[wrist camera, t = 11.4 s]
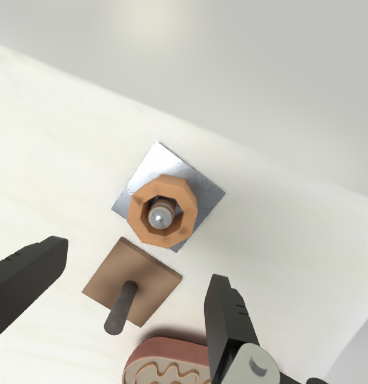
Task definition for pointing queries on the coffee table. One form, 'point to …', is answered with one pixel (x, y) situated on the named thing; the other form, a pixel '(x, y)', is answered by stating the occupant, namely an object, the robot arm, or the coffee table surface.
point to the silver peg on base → (165, 206)
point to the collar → (181, 222)
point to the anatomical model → (167, 363)
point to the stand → (130, 285)
